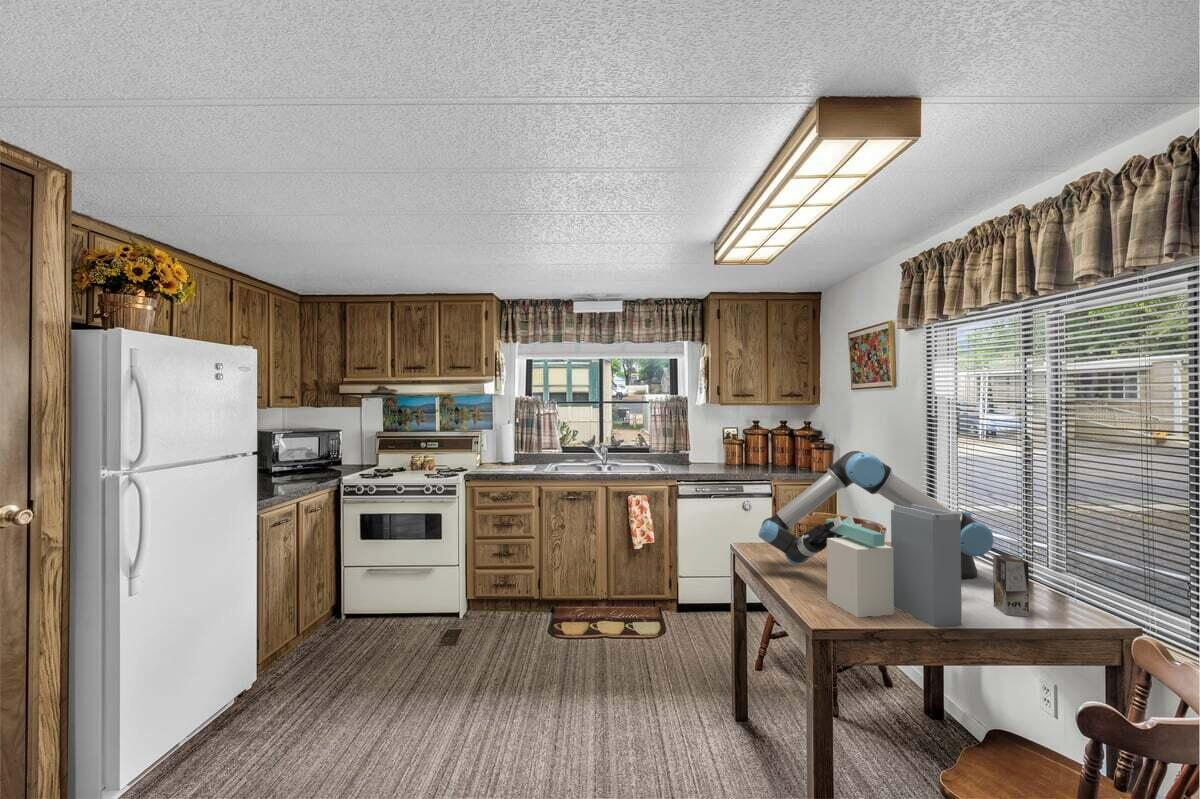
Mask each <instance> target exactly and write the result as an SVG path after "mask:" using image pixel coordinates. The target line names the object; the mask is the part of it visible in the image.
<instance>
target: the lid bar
mask: <svg viewBox="0 0 1200 799" xmlns="http://www.w3.org/2000/svg"><path fill="white" fill-rule="evenodd" d="M833 519H834V518H825V524H828V523H829V522H830V521H832V520H833ZM841 521H842V525H841V526H839V527H838V528H836V529H835V530H833V531H832V532H835V533H837V534H840V535H843V536H842V537H849V538H851V539H854V540H857V541H860V542H863V543H865V544H868V545H871V546H884V545H885V533H882V532H880V531H876V530H872V529H870V528H866V527H863V526H860V525H857V524H855V523H854V524H851V523H848V522H844V521H843V520H841ZM829 530H830V529H829Z"/></svg>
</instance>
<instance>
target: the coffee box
mask: <svg viewBox="0 0 1200 799" xmlns="http://www.w3.org/2000/svg"><path fill="white" fill-rule="evenodd" d="M1029 577H1030V576H1029V562H1028V561H1026V560H1024V559H1022V558H1020V557H1018V556H1016V555H1012V554H1010V555H1009V554H999V555H998V554H992V581H993V583H992V584H993V585H992V586H993V587H992V588H993V607H995V608H996V609H997V610H999V611H1000V612H1001V613H1003V614H1005V615H1006V616H1017V617H1029V616H1030V613H1029V612H1030V608H1029V607H1030V600H1029V598H1030V597H1029V596H1030V595H1029V594H1030V590H1029V589H1030V588H1029V587H1030V586H1029V582H1030V581H1029Z"/></svg>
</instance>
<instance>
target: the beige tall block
mask: <svg viewBox="0 0 1200 799" xmlns="http://www.w3.org/2000/svg"><path fill="white" fill-rule="evenodd" d="M826 568H827V569H826V577H827V579H826V581H827V583H826V584H827V585H826V589H827V590H826V591H827V593H826V600H827V602H829V603H830V602H831V603H830V604H832V603H833V604H832V605H834V604H835V606H836V605H837V606H836V607H837V608H839V607H840V608H839V609H841V608H842V609H841V610H843V609H844V610H843V611H845V612H847V613H848V612H849V614H850V613H851V615H852V614H853V615H852V616H854V617H855V618H857V617H860V618H868V617H867V616H873V617H882V616H881V615H886V616H893V615H892V614H894V615H895V613H894V612H895V608H894V573H893V547H891V545H890V546H889V545H887V544H884V546H871V545H868V544H865V543H863V542H860V541H857V540H854V539H851V538H849V537H846V536H842V537H841V538H827V546H826Z"/></svg>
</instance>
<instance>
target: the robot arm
mask: <svg viewBox="0 0 1200 799" xmlns="http://www.w3.org/2000/svg"><path fill="white" fill-rule="evenodd" d="M826 471H827V472H826V473H825V474H823V476H821V477H820V478H819V479H817V480H816V481H815V482H813V483H812V484H811V485H810V486H809V487H807V488H805V490H804V491H802V492H801V493H799V494H798V495H796V497H795V498H794V499H791V501H790V502H788V503H787V504H785V505H784V506H783V507H782V508H781V509H780V510H779V511H776V513H774V514H773V515H772V516H770V517H767V518H765V519H764V520H763V521H762V523H761V527H760V529H759V531H758V538H760V539H761V540H763V541H764V542H765V543H768V544H769V545H771V546H773V548H775V549H777V550H780V552H782V553H783V554H784V557H785V558H786V559H787V561H788V562H789V563H790V564H792V565H800V564H802V563H805V562H806V561H808V560H809V559H810V558H814V556H815V555H816V554H818V553H820V552H821V551H823V550H825V549H827V538H841V537H844V536H843V535H840V534H837V533H835V532H832V531H833V530H835V529H836V528H838V527H839V526H841V525H842V521H844V522H848V523H851V524H854V525H855V521H854V518H853V515H849V516H847V517H846V518H844V519H841V516H840V515H838V516H836V517H835V518H832V519H833V520H832V521H830V522H829V523H828V524H826V523H824V524H823V525H822V523H821V524H820V523H819V524H818V525H816V526H815V527H813V528H812V529H810V530H809V531H806V532H804V533H803V535H801V536H800V537H797V536H796V535H795V534H793V533H792V532H790V531H789V530H790V529H791V528H792V527H793V526H795V525H796V524H797V523H798V522H799V521H801V520H802V519H803V518H805V517H806V516H808V515H809V514H810V513H812V511H814V510H815V509H816V508H818V507H819V506H820V505H822V503H824V502H826V501H827V500H828V499H829V498H831V497H832V496H833V495H834V494H836V493H837V492H839V490H841V489H846V488H848V487H849V486H851V485H852V484H855V485H857V486H858V487H860V488H862V489H863V490H864V491H866V492H868V493H869V494H871V495H876V494H877V495H880V496H881V497H883V498H884V499H887V500H888V501H889V502H891V503H893V505H900V506H904V507H908V508H911V504H915V505H920V506H924V507H929V508H933V509H938V510H942V511H947V512H951V513H959V514H961V579H967V580H968V579H975V578H977V577H978V568H977V566H976V563H975V560H974V557H976V558H977V557H981V556H984V555H986V554H987V553H989V552H990V551H991V549H992V547H993V545H994V534H993V533H992V530H991V529H990V528H989V527H988V526H987V525H986V524H984V523H981V522H978V521H977V520H975V519H973V517H972V513H971V512H970V511H969V512H968V511H960V510H954V511H953V510H951V509H949V508H947V507H946V506H944V505H943V504H941V503H939V502H938V501H936V499H934V498H932V497H930V496H928V495H927V494H925V493H924V492H922V491H920V490H919V489H917V488H916V487H915V486H913V485H910V483H908V482H906V481H905V480H903V479H901V478H900V477H898V476H896V475H895V474H893V470H892V468H891V467H890V466H889V465H887V464H886V463H884V462H882V461H881V460H880V459H879V458H878V457H877V456H875V455H874V454H871V453H868V452H863V451H859V450H853V451H849V452H847V453H845V454H843V455H841V457H840V458H838V460H836V461H835V462H834V463H833V464H831V466H829V467H828V468H827V470H826ZM829 529H830V530H829Z"/></svg>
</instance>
